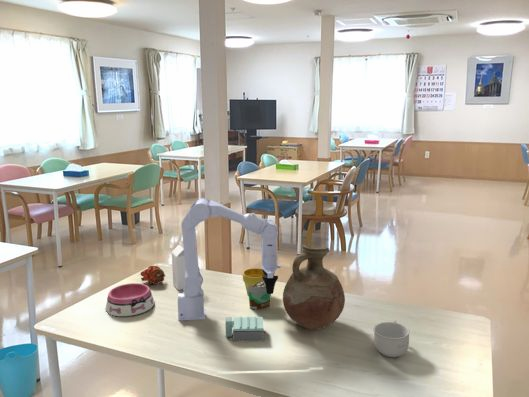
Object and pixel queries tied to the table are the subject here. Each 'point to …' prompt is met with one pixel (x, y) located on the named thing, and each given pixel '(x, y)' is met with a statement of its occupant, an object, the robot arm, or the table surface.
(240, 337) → the tub
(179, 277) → the milk carton
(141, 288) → the dog bowl
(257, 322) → the teal ridged block
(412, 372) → the table surface
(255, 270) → the plant pot
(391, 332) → the teacup
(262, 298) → the food container
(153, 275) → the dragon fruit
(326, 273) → the jug
